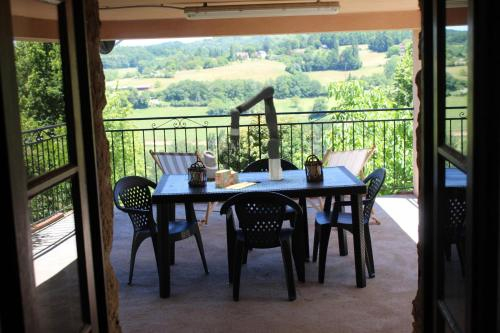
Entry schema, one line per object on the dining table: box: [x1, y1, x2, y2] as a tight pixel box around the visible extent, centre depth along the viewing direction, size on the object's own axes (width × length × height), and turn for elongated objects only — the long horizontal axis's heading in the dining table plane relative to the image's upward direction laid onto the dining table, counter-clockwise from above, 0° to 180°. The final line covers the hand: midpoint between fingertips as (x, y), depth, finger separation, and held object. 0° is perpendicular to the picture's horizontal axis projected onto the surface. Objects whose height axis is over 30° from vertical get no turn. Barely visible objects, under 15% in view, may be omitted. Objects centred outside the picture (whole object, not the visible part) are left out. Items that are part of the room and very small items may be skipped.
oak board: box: [223, 181, 257, 190], centre depth 530 cm, size 14×26×1 cm, turn 151°
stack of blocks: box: [214, 169, 240, 189], centre depth 535 cm, size 21×6×12 cm, turn 144°
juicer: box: [190, 150, 219, 183], centre depth 567 cm, size 30×16×24 cm, turn 49°
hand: (234, 154), depth 546 cm, fingers open, 8 cm apart
